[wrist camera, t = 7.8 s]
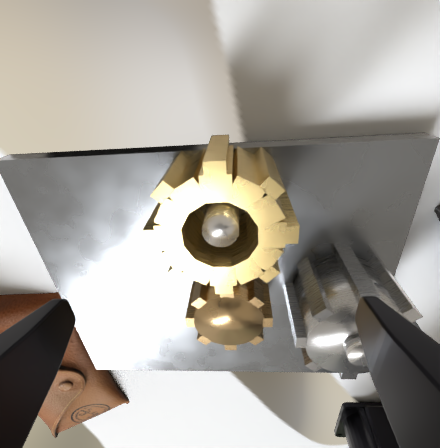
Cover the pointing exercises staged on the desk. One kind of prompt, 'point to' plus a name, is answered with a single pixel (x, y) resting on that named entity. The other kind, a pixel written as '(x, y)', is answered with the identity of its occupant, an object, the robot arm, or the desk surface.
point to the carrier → (221, 237)
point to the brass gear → (216, 193)
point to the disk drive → (437, 211)
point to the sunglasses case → (66, 372)
